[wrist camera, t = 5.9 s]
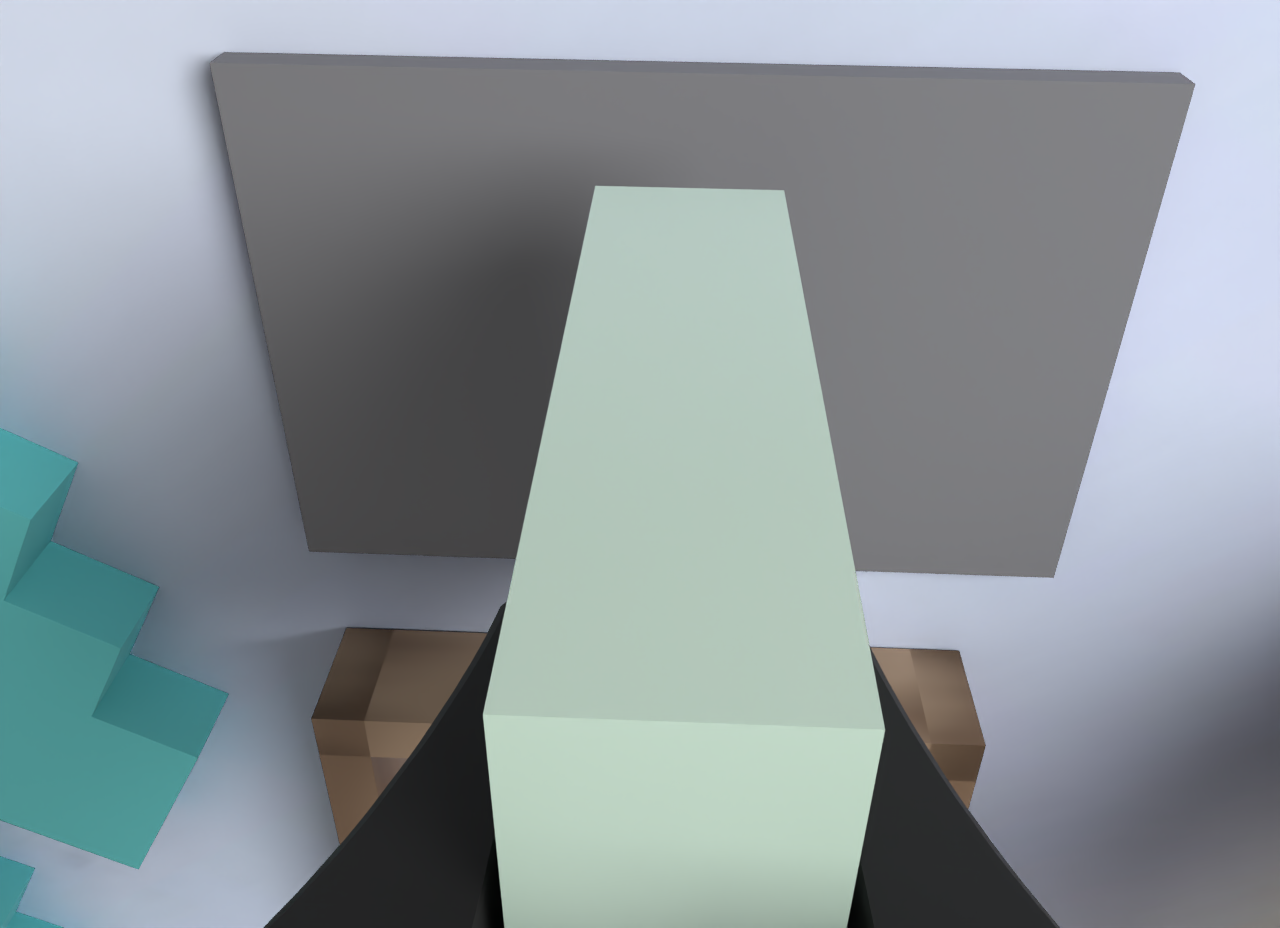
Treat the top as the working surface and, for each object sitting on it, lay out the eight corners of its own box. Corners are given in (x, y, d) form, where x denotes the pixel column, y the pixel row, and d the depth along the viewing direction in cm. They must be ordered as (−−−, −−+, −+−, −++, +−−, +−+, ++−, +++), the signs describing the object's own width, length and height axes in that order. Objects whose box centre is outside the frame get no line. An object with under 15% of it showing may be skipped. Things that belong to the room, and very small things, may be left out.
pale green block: (784, 190, 14) (886, 730, 7) (744, 651, 18) (777, 1281, 11) (595, 186, 14) (483, 715, 7) (601, 646, 19) (538, 1269, 11)
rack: (959, 651, 22) (985, 745, 20) (866, 1042, 31) (878, 1137, 29) (346, 628, 23) (311, 718, 21) (420, 1020, 31) (400, 1112, 29)
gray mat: (1179, 72, 16) (1195, 84, 15) (1044, 557, 21) (1053, 577, 21) (224, 52, 16) (209, 62, 16) (318, 532, 21) (308, 551, 21)
